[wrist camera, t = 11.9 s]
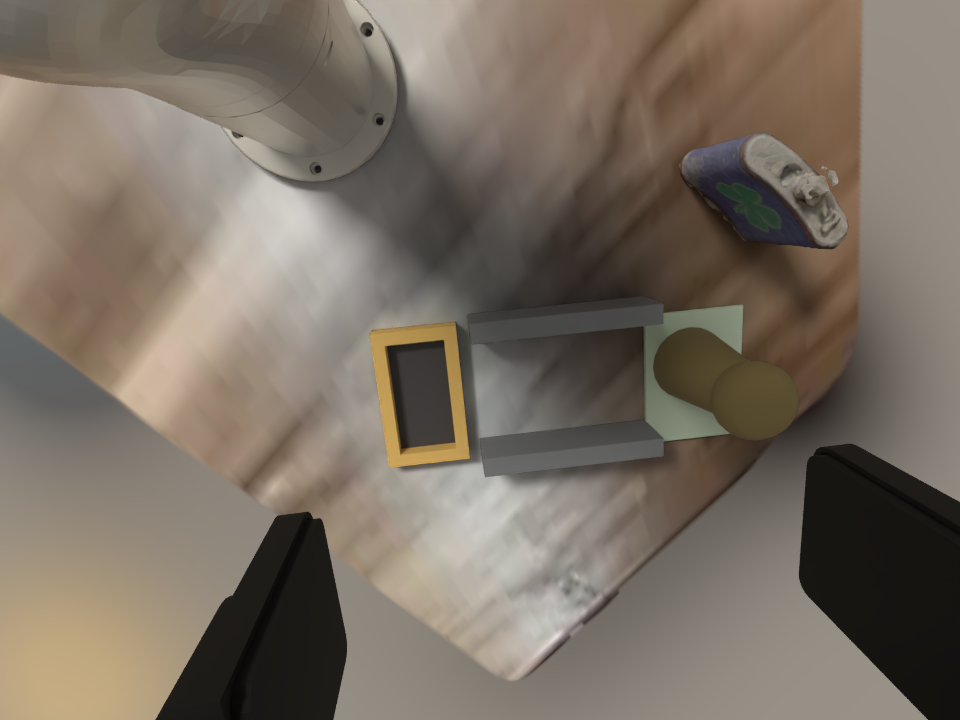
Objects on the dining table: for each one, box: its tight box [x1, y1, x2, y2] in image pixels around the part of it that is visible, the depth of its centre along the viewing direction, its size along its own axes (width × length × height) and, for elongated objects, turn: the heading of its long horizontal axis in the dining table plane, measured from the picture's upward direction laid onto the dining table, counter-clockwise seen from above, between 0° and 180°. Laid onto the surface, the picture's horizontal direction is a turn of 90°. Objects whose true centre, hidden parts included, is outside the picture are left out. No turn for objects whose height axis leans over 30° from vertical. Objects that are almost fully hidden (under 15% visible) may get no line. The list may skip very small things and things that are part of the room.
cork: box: [653, 327, 799, 441], centre depth 38 cm, size 6×6×11 cm
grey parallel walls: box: [467, 296, 664, 477], centre depth 41 cm, size 12×14×4 cm
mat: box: [643, 305, 743, 441], centre depth 44 cm, size 11×8×1 cm
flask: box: [679, 132, 849, 249], centre depth 35 cm, size 9×3×11 cm, turn 49°
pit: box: [369, 322, 470, 468], centre depth 42 cm, size 11×6×2 cm, turn 5°
